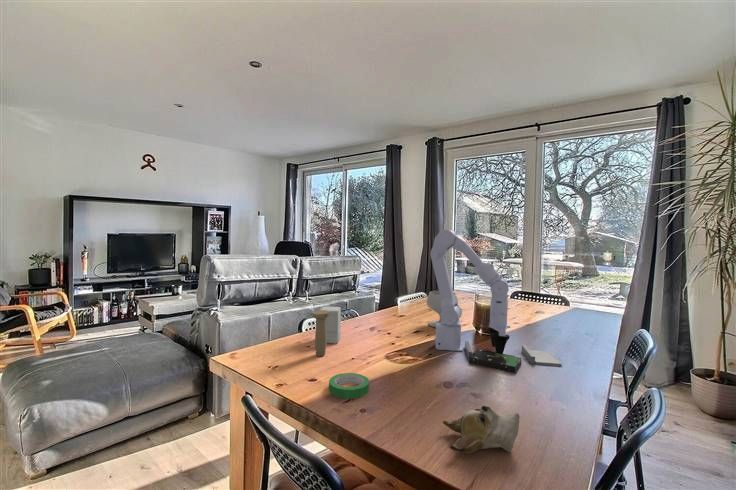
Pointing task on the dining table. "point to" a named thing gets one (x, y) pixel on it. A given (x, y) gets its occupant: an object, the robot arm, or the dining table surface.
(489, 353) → the disk drive
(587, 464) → the dining table surface
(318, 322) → the handle
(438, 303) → the chalice
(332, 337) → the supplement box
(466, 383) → the dining table surface
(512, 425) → the ceramic sculpture
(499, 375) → the dining table surface
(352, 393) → the tape roll
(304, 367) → the dining table surface
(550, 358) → the grey flat panel
